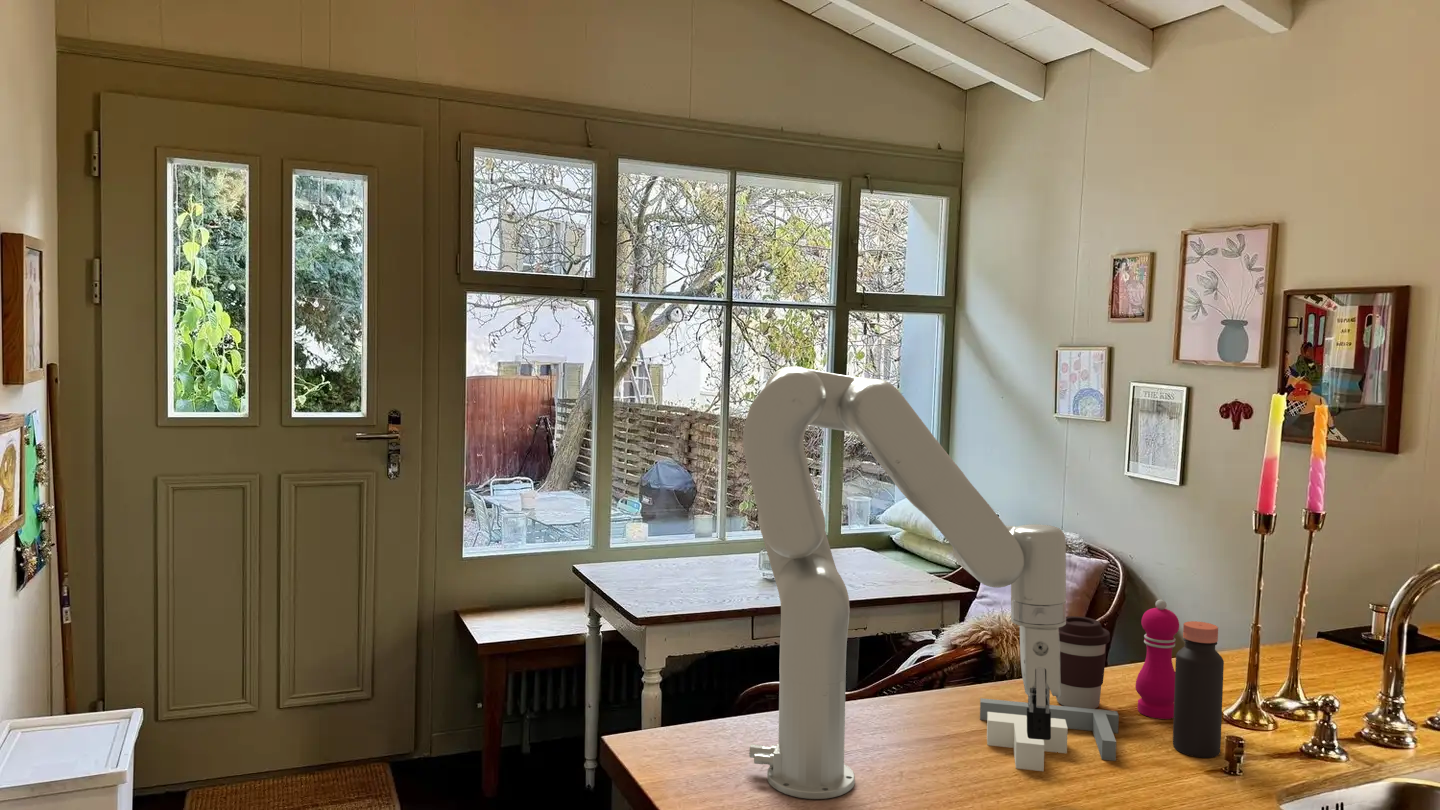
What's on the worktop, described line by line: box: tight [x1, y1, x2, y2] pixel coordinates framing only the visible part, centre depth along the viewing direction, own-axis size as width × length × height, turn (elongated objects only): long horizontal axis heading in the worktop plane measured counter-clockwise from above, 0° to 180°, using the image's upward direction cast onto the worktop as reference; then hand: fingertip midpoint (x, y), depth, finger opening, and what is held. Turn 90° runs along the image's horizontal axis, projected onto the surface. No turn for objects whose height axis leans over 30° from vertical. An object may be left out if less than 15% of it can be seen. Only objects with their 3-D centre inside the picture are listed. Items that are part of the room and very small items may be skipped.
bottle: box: [1172, 620, 1225, 759], centre depth 154 cm, size 7×7×20 cm
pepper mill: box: [1135, 599, 1180, 720], centre depth 170 cm, size 7×7×20 cm
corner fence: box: [979, 697, 1120, 762], centre depth 159 cm, size 22×14×3 cm, turn 76°
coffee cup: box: [1056, 615, 1111, 709], centre depth 175 cm, size 10×10×15 cm
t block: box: [986, 712, 1069, 772], centre depth 152 cm, size 12×12×4 cm
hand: (1038, 736), depth 141 cm, fingers closed
